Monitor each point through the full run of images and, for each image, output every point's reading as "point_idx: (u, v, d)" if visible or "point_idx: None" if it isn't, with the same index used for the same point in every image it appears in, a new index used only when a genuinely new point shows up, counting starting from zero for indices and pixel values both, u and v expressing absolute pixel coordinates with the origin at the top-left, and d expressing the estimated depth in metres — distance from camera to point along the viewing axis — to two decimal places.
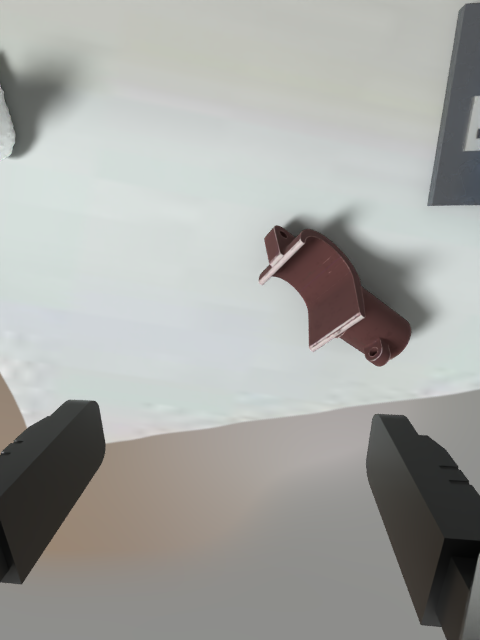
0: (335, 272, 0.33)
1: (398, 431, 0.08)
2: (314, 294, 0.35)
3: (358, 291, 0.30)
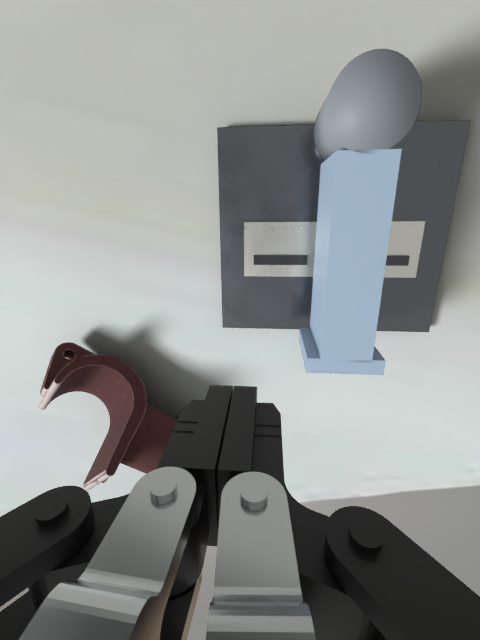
0: (126, 397, 0.30)
1: (241, 398, 0.09)
2: (114, 412, 0.32)
3: (127, 433, 0.27)
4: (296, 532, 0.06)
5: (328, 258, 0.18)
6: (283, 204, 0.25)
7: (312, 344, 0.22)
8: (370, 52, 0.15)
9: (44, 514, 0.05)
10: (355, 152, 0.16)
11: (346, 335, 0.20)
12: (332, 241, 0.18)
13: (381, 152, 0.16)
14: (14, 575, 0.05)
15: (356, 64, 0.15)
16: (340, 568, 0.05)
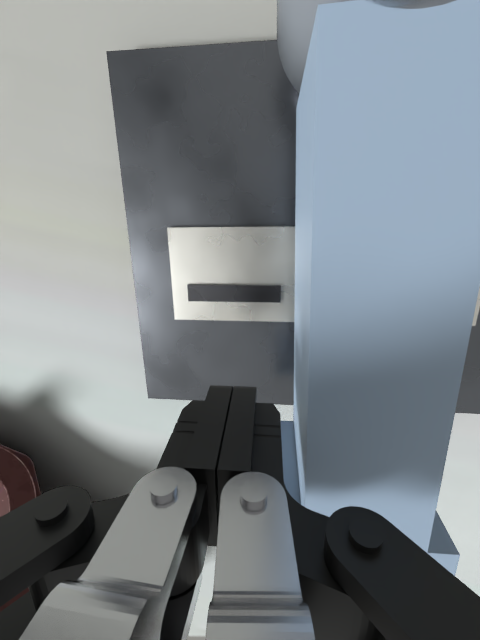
0: (4, 506, 0.19)
1: (241, 398, 0.09)
2: None
3: None
4: (296, 532, 0.06)
5: (310, 329, 0.07)
6: (235, 195, 0.14)
7: (292, 480, 0.11)
8: None
9: (44, 514, 0.05)
10: (378, 6, 0.05)
11: (364, 501, 0.08)
12: (317, 285, 0.07)
13: None
14: (14, 576, 0.05)
15: None
16: (340, 568, 0.05)
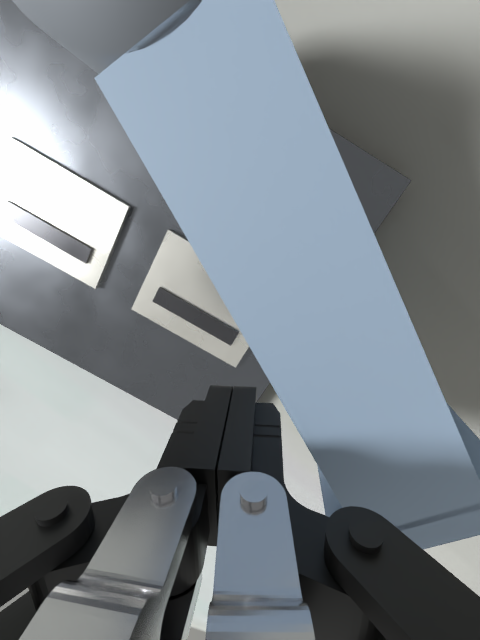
0: None
1: (240, 398, 0.09)
2: None
3: None
4: (296, 532, 0.06)
5: (244, 334, 0.07)
6: (84, 144, 0.14)
7: None
8: None
9: (44, 514, 0.05)
10: (139, 51, 0.05)
11: (389, 472, 0.08)
12: (226, 295, 0.07)
13: (203, 2, 0.05)
14: (14, 576, 0.05)
15: None
16: (340, 568, 0.05)
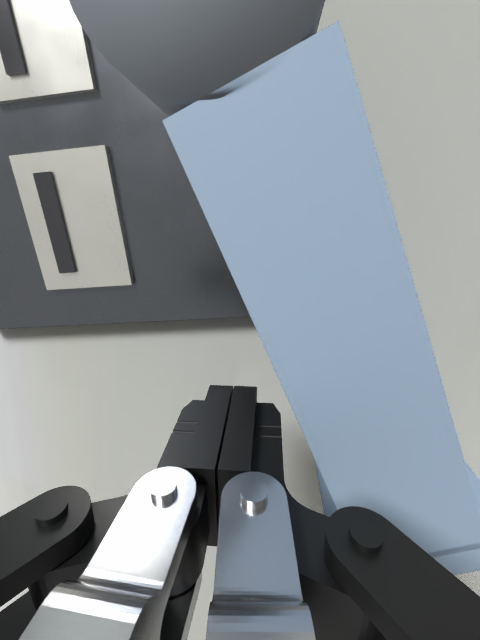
0: None
1: (241, 398, 0.09)
2: None
3: None
4: (296, 532, 0.06)
5: (279, 376, 0.07)
6: None
7: None
8: None
9: (44, 514, 0.05)
10: (212, 101, 0.06)
11: (400, 511, 0.08)
12: (267, 339, 0.07)
13: (283, 63, 0.05)
14: (14, 576, 0.05)
15: None
16: (340, 568, 0.05)
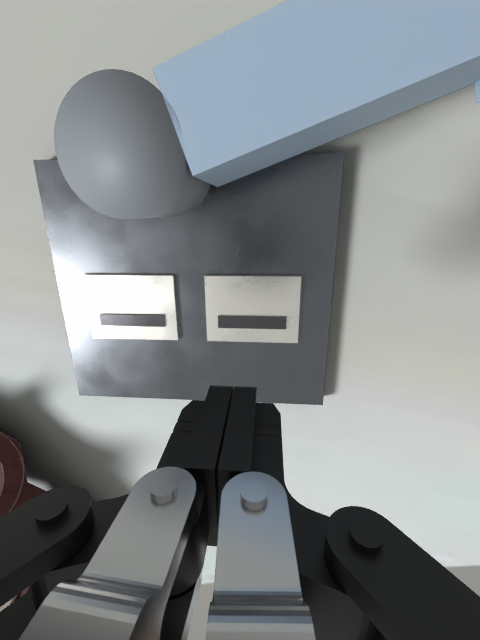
0: None
1: (241, 398, 0.09)
2: None
3: None
4: (296, 532, 0.06)
5: (359, 105, 0.10)
6: (128, 253, 0.20)
7: None
8: (72, 186, 0.11)
9: (44, 514, 0.05)
10: (184, 144, 0.10)
11: None
12: (326, 114, 0.10)
13: (169, 101, 0.10)
14: (14, 576, 0.05)
15: (91, 198, 0.11)
16: (340, 568, 0.05)
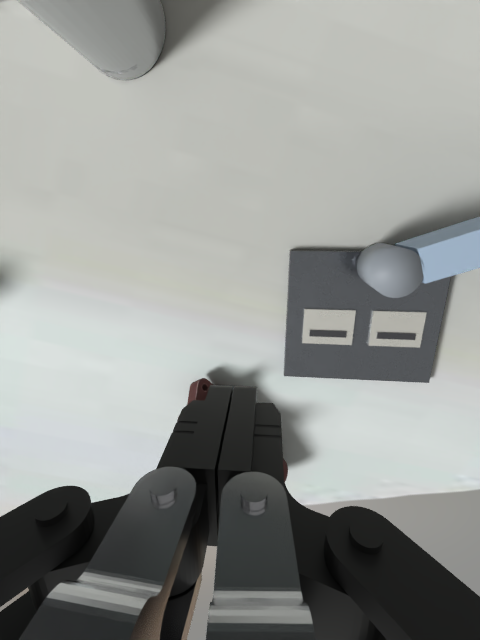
0: None
1: (241, 398, 0.09)
2: None
3: None
4: (296, 532, 0.06)
5: None
6: (331, 298, 0.38)
7: None
8: (375, 285, 0.29)
9: (44, 514, 0.05)
10: (424, 273, 0.28)
11: None
12: None
13: (422, 259, 0.28)
14: (14, 576, 0.05)
15: (381, 290, 0.29)
16: (340, 568, 0.05)
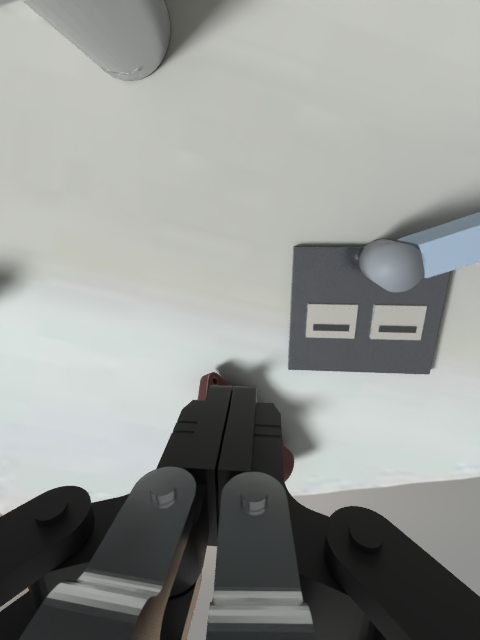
0: None
1: (241, 398, 0.09)
2: None
3: None
4: (296, 532, 0.06)
5: None
6: (334, 293, 0.39)
7: None
8: (377, 280, 0.30)
9: (44, 514, 0.05)
10: (425, 268, 0.29)
11: None
12: (479, 260, 0.28)
13: (423, 254, 0.29)
14: (14, 575, 0.05)
15: (384, 285, 0.30)
16: (340, 568, 0.05)
